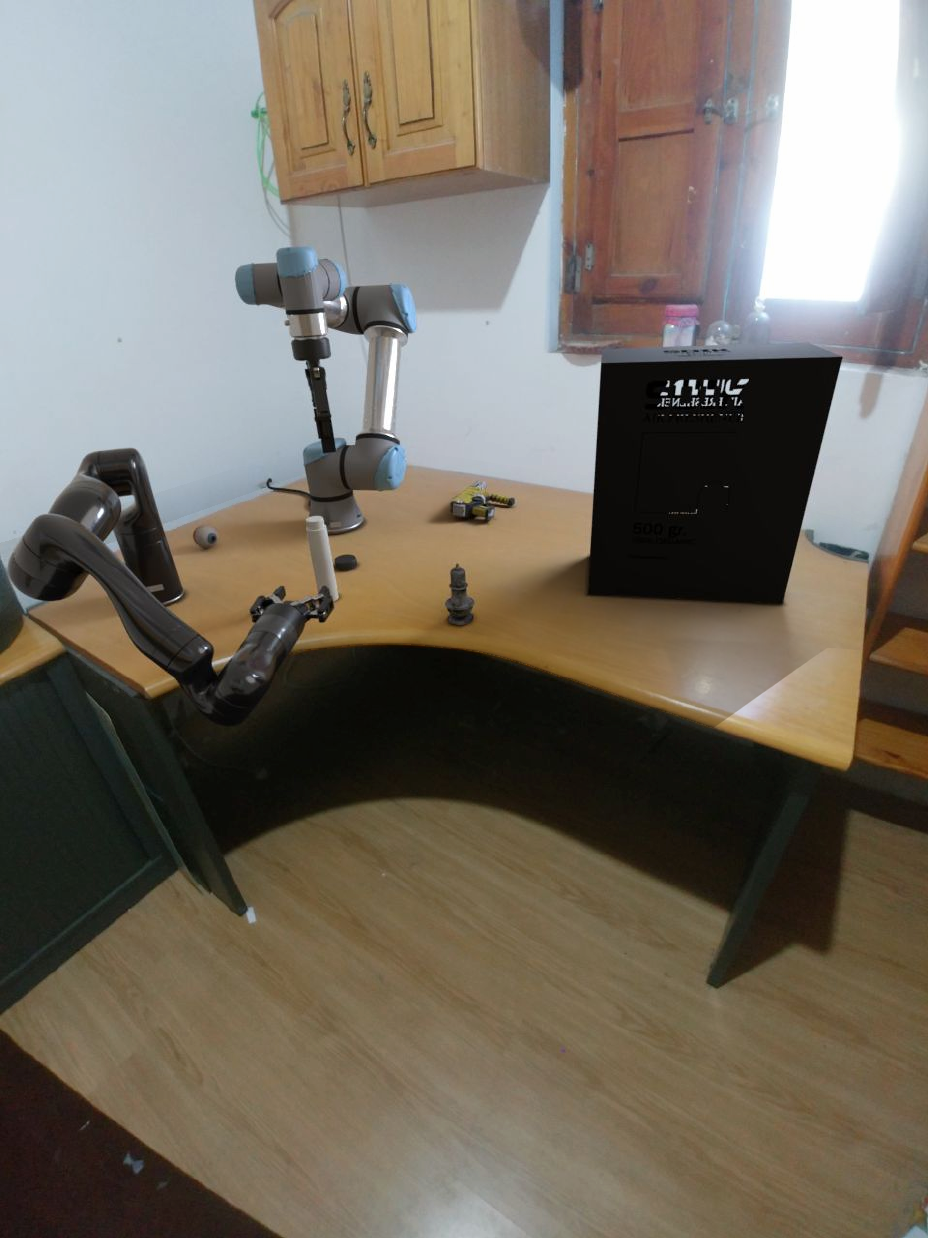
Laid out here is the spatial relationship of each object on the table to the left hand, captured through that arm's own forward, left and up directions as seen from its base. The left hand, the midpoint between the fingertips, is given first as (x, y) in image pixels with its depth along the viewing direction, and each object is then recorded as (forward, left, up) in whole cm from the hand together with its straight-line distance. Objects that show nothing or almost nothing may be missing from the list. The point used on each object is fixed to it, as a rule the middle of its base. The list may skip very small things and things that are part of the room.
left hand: (304, 589), depth 117 cm
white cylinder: (0, +12, -8) cm, 14 cm away
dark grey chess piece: (+30, +3, -8) cm, 31 cm away
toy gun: (+32, +67, -8) cm, 75 cm away
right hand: (0, +29, +21) cm, 35 cm away
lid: (0, +28, -7) cm, 29 cm away
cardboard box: (+76, +21, -8) cm, 79 cm away
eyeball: (-41, +41, -8) cm, 58 cm away
